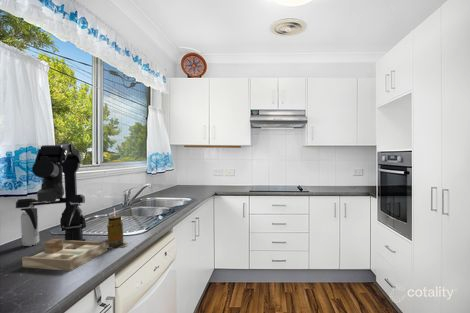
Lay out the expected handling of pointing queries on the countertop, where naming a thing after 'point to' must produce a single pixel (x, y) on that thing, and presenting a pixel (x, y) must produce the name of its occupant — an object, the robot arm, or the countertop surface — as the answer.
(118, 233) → the condiment
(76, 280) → the countertop surface
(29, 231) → the energy drink can
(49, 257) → the box
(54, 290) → the countertop surface
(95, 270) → the countertop surface
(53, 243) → the walnut block
